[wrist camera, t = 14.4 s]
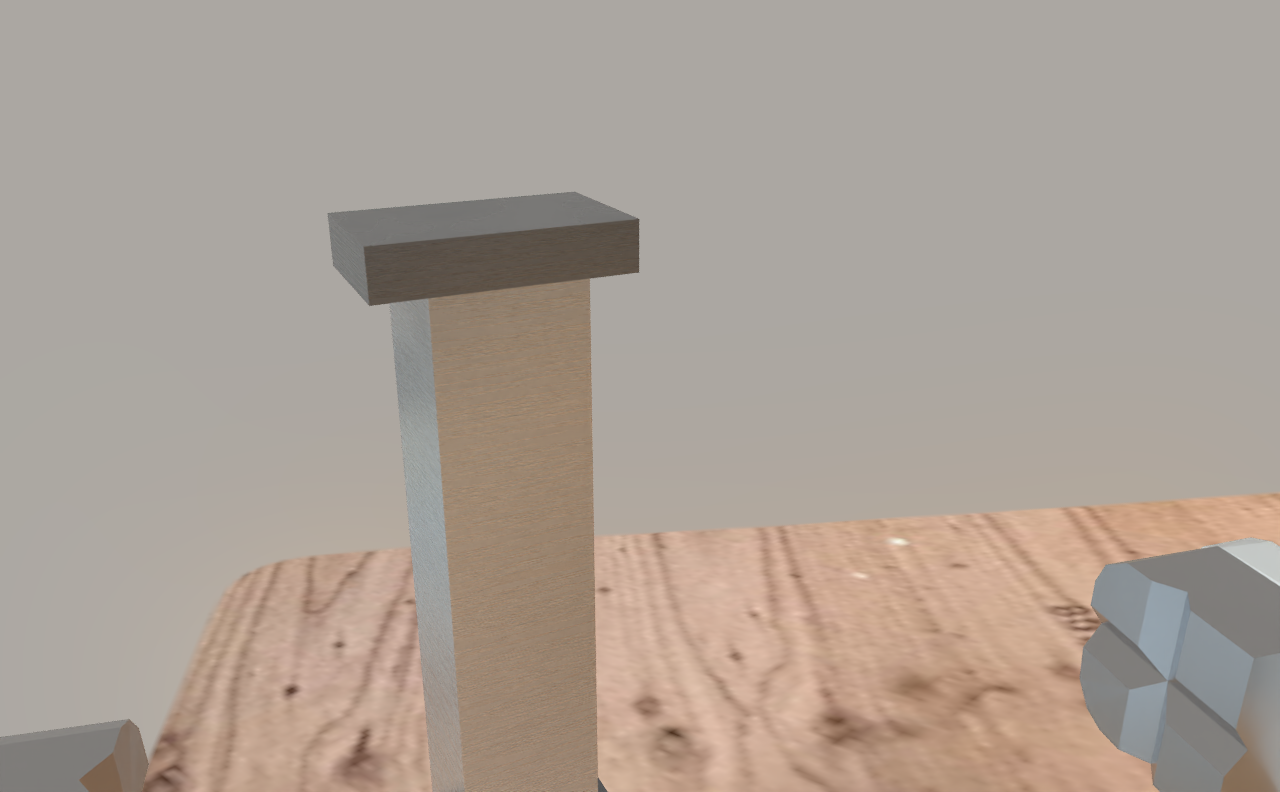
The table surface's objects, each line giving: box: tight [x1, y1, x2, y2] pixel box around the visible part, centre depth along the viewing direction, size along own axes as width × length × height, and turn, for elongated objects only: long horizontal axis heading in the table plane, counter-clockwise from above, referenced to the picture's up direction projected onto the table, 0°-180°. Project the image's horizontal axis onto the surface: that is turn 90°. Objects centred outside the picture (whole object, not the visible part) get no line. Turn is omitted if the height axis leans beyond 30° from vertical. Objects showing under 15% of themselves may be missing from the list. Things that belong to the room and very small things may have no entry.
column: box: [328, 192, 639, 792], centre depth 23 cm, size 5×3×20 cm, turn 116°
